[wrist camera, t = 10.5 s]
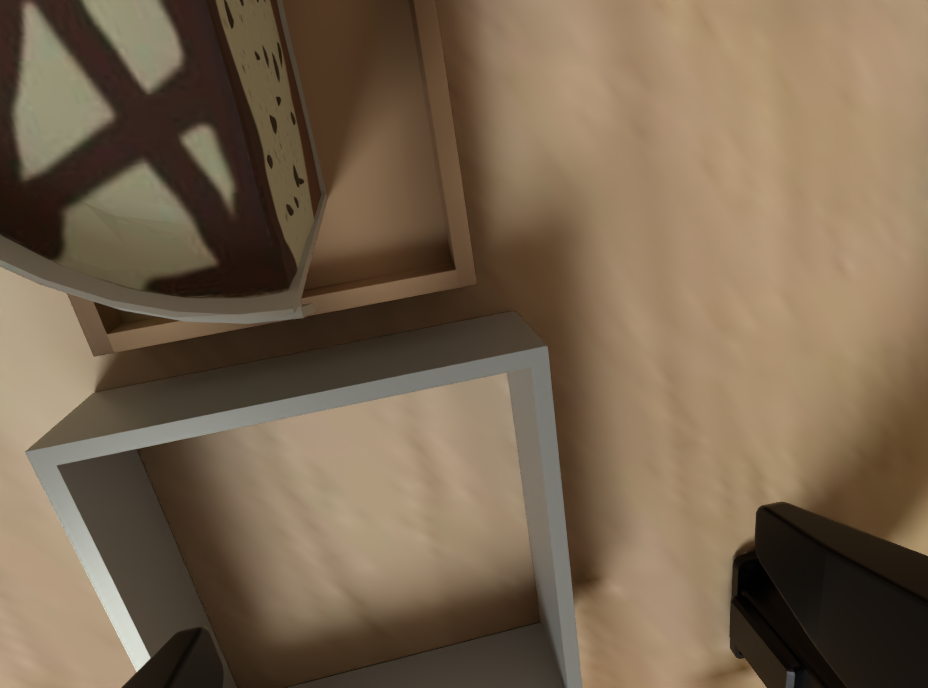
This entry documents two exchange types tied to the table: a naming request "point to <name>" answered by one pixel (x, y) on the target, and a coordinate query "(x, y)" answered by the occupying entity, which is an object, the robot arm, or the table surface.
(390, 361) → the tub
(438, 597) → the table surface
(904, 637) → the robot arm
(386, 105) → the tray
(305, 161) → the food container
